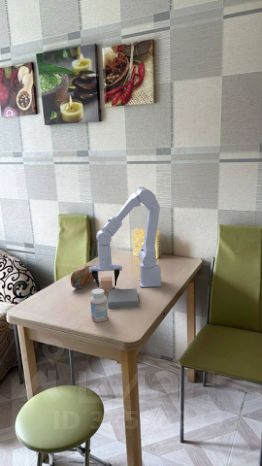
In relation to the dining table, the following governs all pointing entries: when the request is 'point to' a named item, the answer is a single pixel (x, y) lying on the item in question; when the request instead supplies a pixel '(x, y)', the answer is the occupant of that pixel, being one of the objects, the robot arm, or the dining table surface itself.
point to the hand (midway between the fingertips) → (106, 285)
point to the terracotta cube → (106, 283)
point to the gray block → (122, 298)
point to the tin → (81, 277)
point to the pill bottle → (98, 305)
